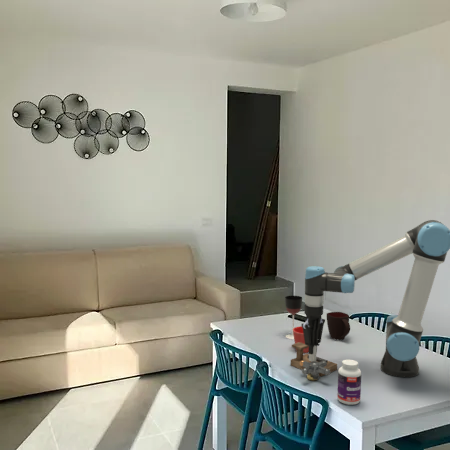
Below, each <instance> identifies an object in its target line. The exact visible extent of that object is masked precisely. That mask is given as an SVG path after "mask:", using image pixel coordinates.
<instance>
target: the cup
mask: <svg viewBox="0 0 450 450" xmlns="http://www.w3.org/2000/svg"><path fill="white" fill-rule="evenodd" d="M326 324H327V330H328V334H329V337H330V338H331V339H332V340H335V341H340V340H341V341H342V340H344V339H345V337H347V335H349V333H350V331H351V324H350V316H349V314H348V313H345V312H342V311H331V312H327V313H326Z"/></svg>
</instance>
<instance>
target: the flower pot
mask: <svg viewBox="0 0 450 450" xmlns="http://www.w3.org/2000/svg"><path fill="white" fill-rule="evenodd" d="M293 335H294V339H293V341H294V344H295V343H298V342H300V343H303V344H305V340H304V333H303V328H302V326H301V325H300V326H294V329H293ZM295 350H296V351H297V349H296V348H295ZM308 352H309V346H308V348H305V349H303V354H304V353H305V354H309V353H308Z"/></svg>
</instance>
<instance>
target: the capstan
mask: <svg viewBox="0 0 450 450" xmlns="http://www.w3.org/2000/svg"><path fill="white" fill-rule="evenodd" d="M300 365H301V366H303V367H306V368H304V369H303V370H301V373H302V374H303V375H305V376H306V379H307V380H309V381H318V380H319V379H320V376H319V372H320V373H322V374H325V375H324V376H329V375H330V374H331V373H330V370H329V369H326V368H324V367H325V366H326V365H327V363H326V361H321V362H316V361H312V362H310V363H309V362H306V361H304V360H301V361H300Z"/></svg>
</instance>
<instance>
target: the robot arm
mask: <svg viewBox="0 0 450 450" xmlns="http://www.w3.org/2000/svg"><path fill="white" fill-rule="evenodd" d="M448 251H450V229H449V227H447V226H446V224H444V223H442V222H441V221H438V220H434V219H430V220H429V219H428V220H425V221H424V222H422V223H420V224H418V225H417V226H415V227H413V228H411V229H409V230H408V231H406V232H405V235H403V236H402V237H400V238H398V239H395V240H393V241H392V242H389V243H387V244H386V245H384V246H381V247H379V248H377V249H375V250H373V251H371V252H370V253H367V254H365V255H363V256H361V257H359V258H357V259H355V260H353V261H351V262H349V263H348V264H345V265H341V266H339V267H337V268H335V269H334V270H333V272H325V268H324V267H322V266H318V265H316V266H315V265H312V266H310V265H309V266H307V267H306V268H305V276H304V309H303V310H304V311H303V312H304V314H305V315H306V317H305V322H304V323H301V325H300V326H302V328H303V333H304V340H305V345H308V346H309V353H308V354H309V361H316V357H317V353H318V347H319V346H320V344H321V342H322V337H323V330H324V326H325V325H324V324H325V323H326V319H325V318H322V316H323V314H324V306H323V305H324V296H325V295H324V292H330V293H342V294H353V293H354V292H355V284H356V283H355V282H356V281H357V280H359V279H362V278H364V277H366V276H368V275H370V274H372V273H373V272H375V271H379V270H380V269H382V268H384V267H386V266H389V265H390V264H393V263H395V262H396V261H399V260H401V259H404V258H405V257H407V256H409V255H413V257H414V260H413V264H412V267H411V271H410V273H409V278H408V281H407V284H406V288H405V291H404V295H403V298H402V300H401V305H400V308H399V312H398V315H397V314H392V315H389V316H387V318H386V321H385V323H386V331H385V334H386V335H385V351H384V355H383V356H382V359H381V360H380V361H381V362H380V370H381V371H382V372H383V373H385V374H387V375H388V376H389V375H390V376H392V377H398V378H414V377H416V376H418V375H419V374H420V365H419V363H418V362H419V361H418V359H417V355H418V354H419V352H420V341H421V339H422V336H423V332H424V328H423V326H422V320H423V316H424V315H425V311H426V307H427V304H428V300H429V298H430V294H431V291H432V287H433V285H434V281H435V278H436V275H437V272H438V268H439V265H441V264H443V263H445V260H446V257H447V255H448Z"/></svg>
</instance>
